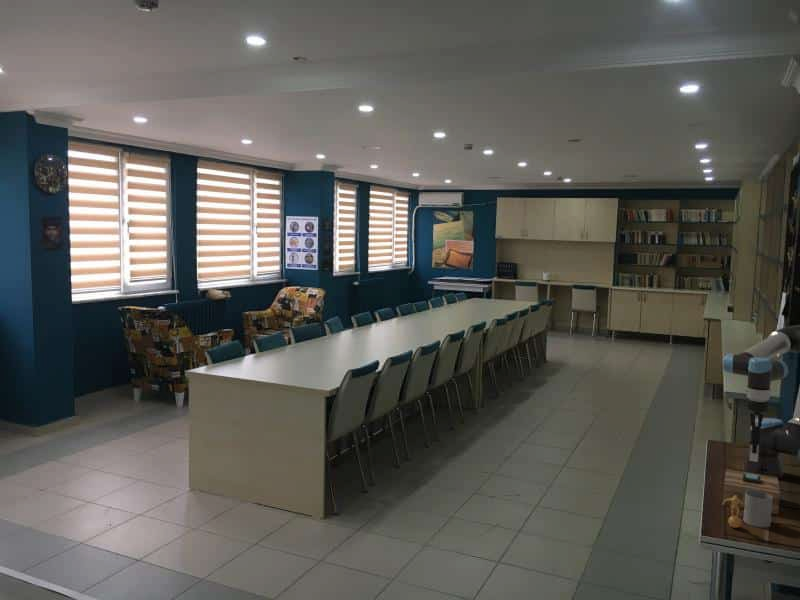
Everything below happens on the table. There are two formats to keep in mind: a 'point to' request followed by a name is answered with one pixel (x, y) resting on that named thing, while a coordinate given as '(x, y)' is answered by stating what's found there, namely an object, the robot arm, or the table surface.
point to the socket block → (750, 487)
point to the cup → (758, 508)
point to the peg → (751, 477)
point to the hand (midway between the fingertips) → (753, 460)
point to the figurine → (735, 520)
